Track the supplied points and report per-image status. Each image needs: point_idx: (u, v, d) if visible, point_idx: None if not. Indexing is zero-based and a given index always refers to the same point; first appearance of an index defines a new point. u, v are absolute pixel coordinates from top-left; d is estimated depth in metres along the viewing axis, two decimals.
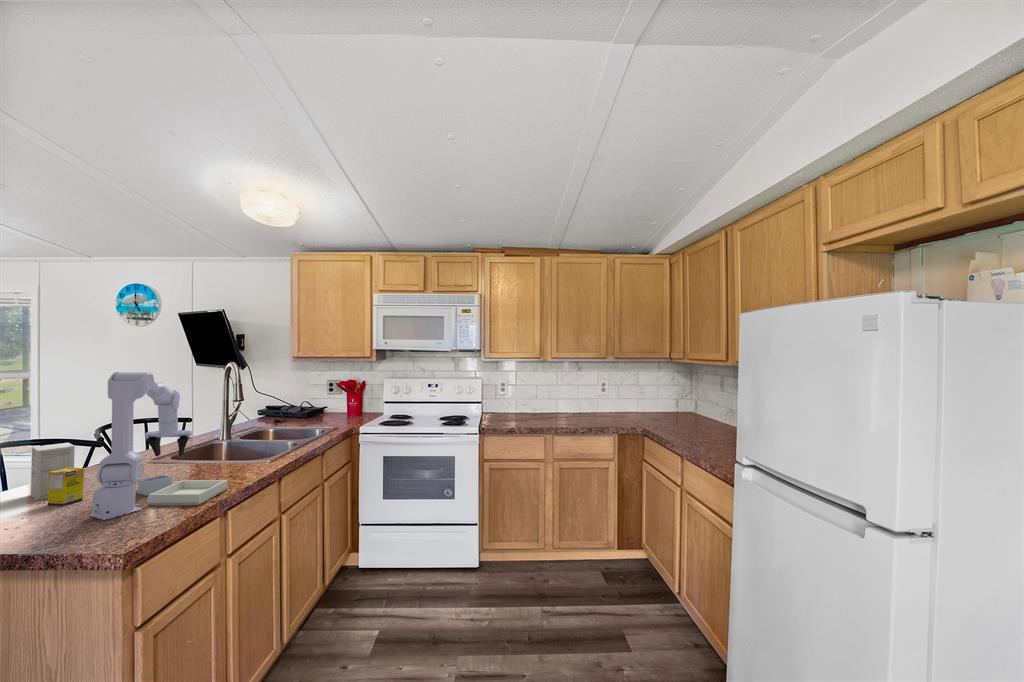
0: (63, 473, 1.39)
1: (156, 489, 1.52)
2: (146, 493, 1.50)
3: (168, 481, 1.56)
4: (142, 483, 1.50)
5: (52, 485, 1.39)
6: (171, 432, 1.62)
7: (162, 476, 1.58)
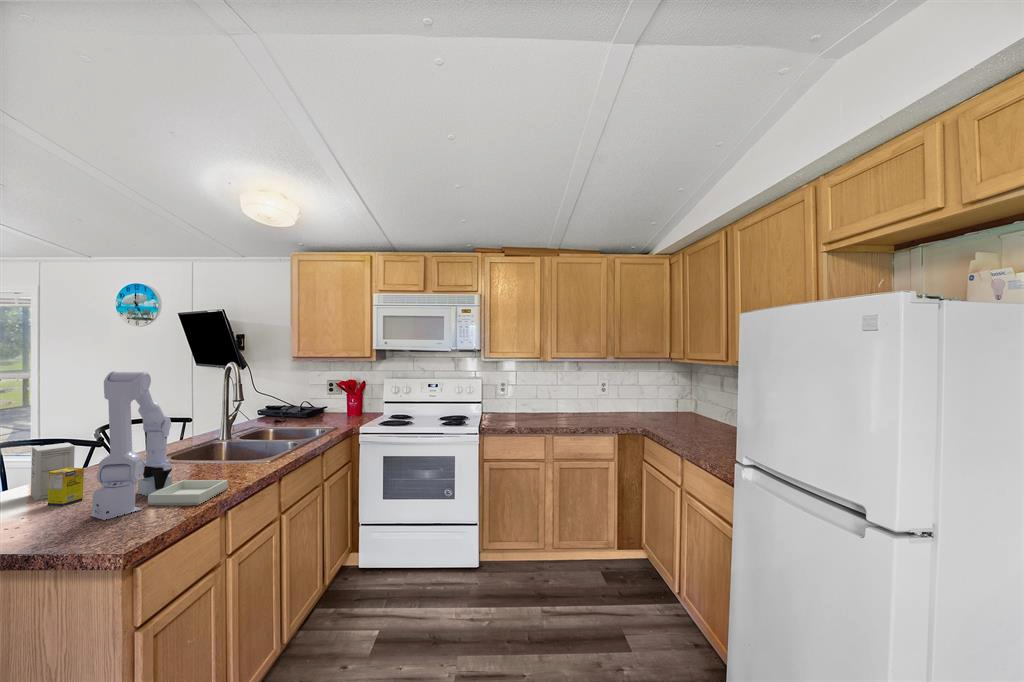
0: (63, 473, 1.39)
1: None
2: (146, 493, 1.50)
3: (168, 481, 1.56)
4: (142, 483, 1.50)
5: (52, 485, 1.39)
6: (151, 462, 1.52)
7: None
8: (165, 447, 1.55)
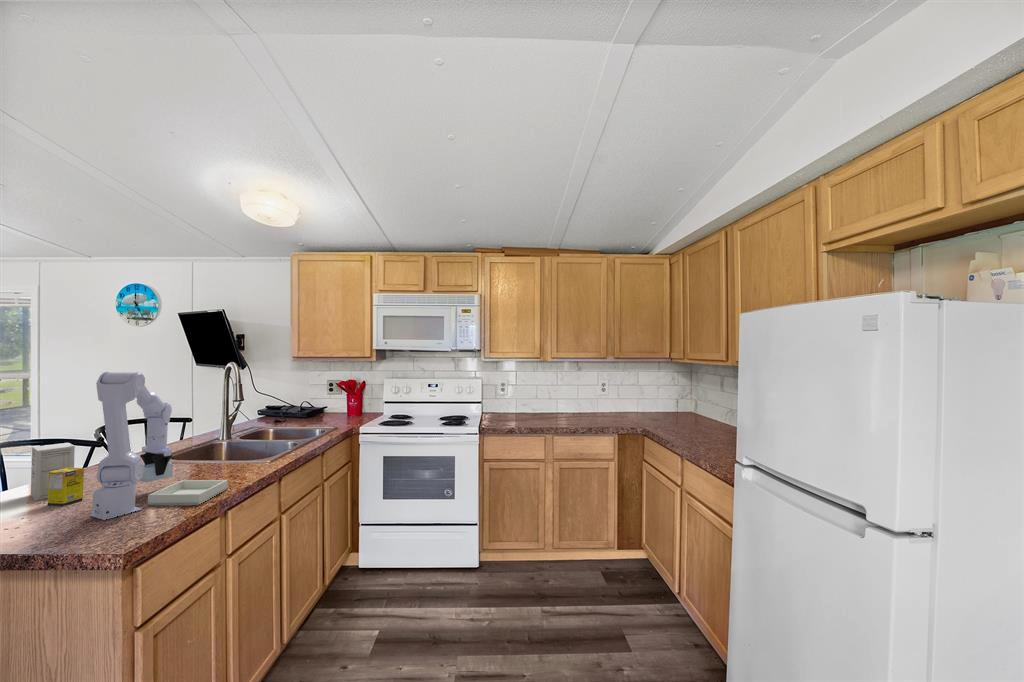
0: (63, 473, 1.39)
1: None
2: (147, 479, 1.50)
3: (169, 467, 1.56)
4: None
5: (52, 485, 1.39)
6: (152, 448, 1.52)
7: None
8: (166, 433, 1.55)
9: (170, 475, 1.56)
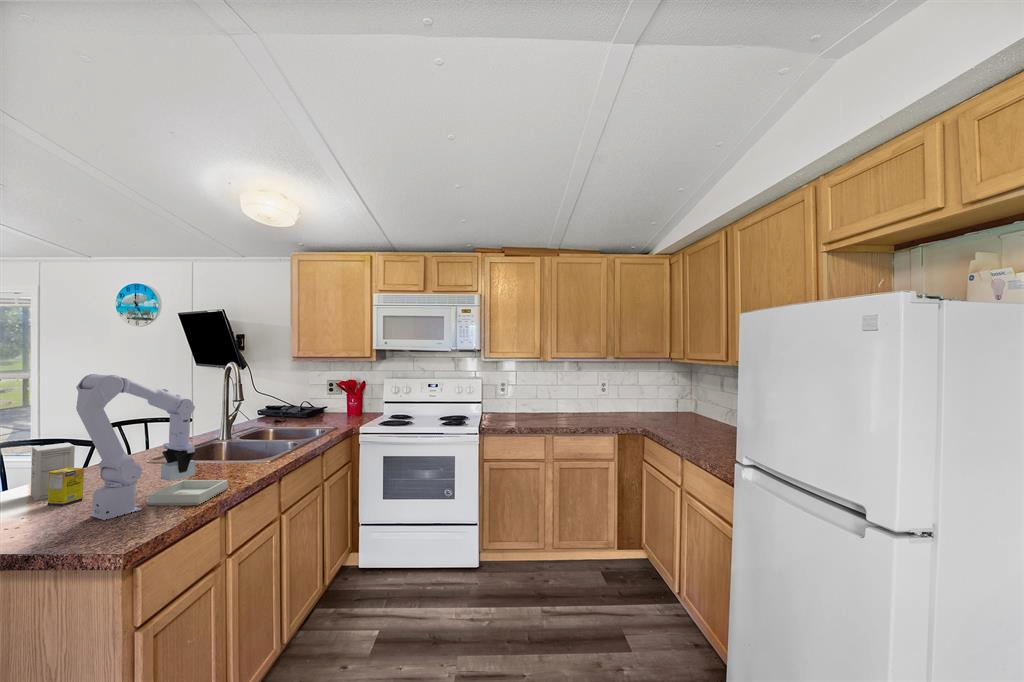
0: (63, 473, 1.39)
1: (179, 474, 1.49)
2: (170, 477, 1.47)
3: (191, 466, 1.53)
4: (165, 467, 1.47)
5: (52, 485, 1.39)
6: (175, 444, 1.49)
7: None
8: (184, 431, 1.50)
9: (192, 473, 1.53)
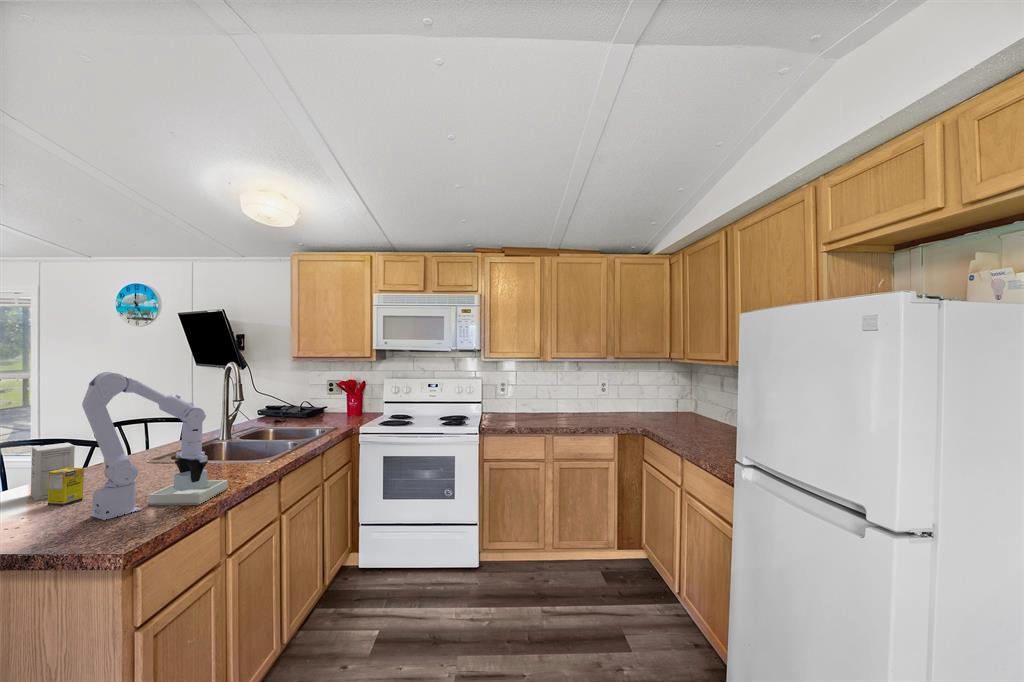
0: (63, 473, 1.39)
1: (192, 484, 1.47)
2: (183, 488, 1.45)
3: (204, 475, 1.51)
4: (178, 477, 1.46)
5: (52, 485, 1.39)
6: (187, 454, 1.47)
7: None
8: (194, 440, 1.48)
9: (205, 483, 1.51)
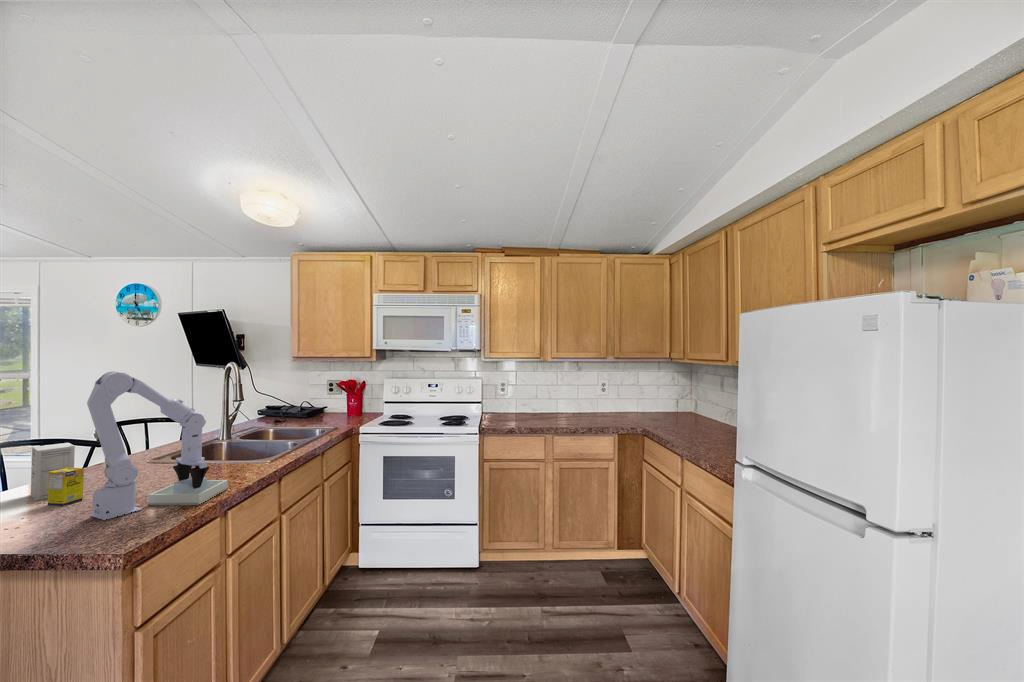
0: (63, 473, 1.39)
1: (192, 491, 1.47)
2: None
3: (203, 483, 1.51)
4: (178, 485, 1.45)
5: (52, 485, 1.39)
6: (187, 460, 1.47)
7: None
8: (193, 446, 1.48)
9: None
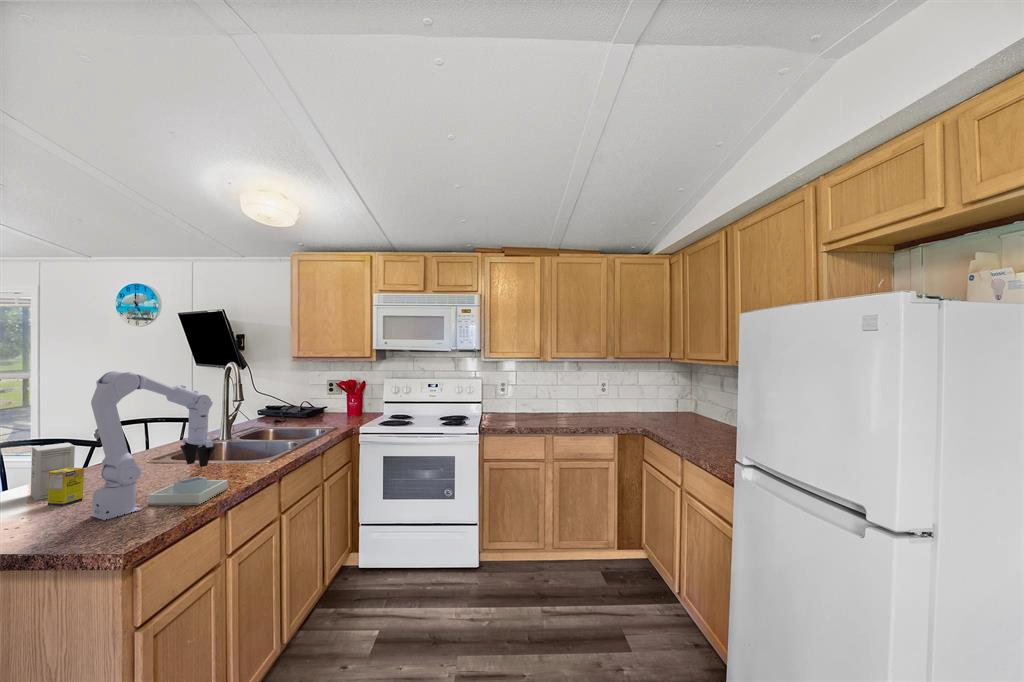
0: (63, 473, 1.39)
1: (192, 491, 1.47)
2: None
3: (203, 483, 1.51)
4: (178, 485, 1.45)
5: (52, 485, 1.39)
6: (194, 439, 1.52)
7: (197, 478, 1.53)
8: (202, 426, 1.54)
9: None
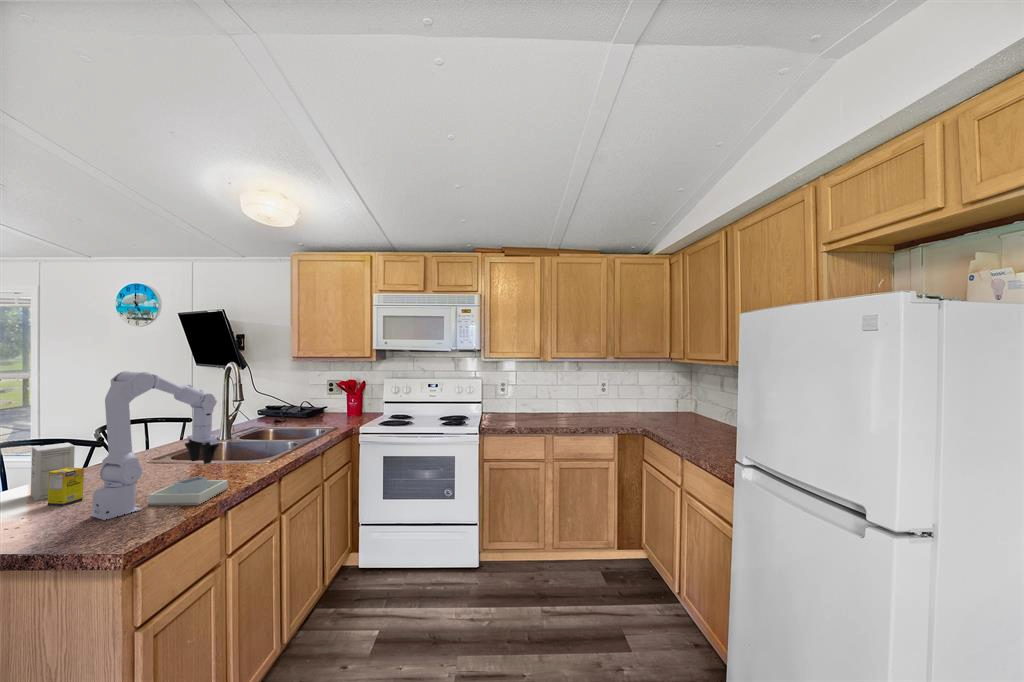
0: (63, 473, 1.39)
1: (192, 491, 1.47)
2: None
3: (203, 483, 1.51)
4: (178, 485, 1.45)
5: (52, 485, 1.39)
6: (198, 437, 1.57)
7: (197, 478, 1.53)
8: (207, 423, 1.59)
9: None
